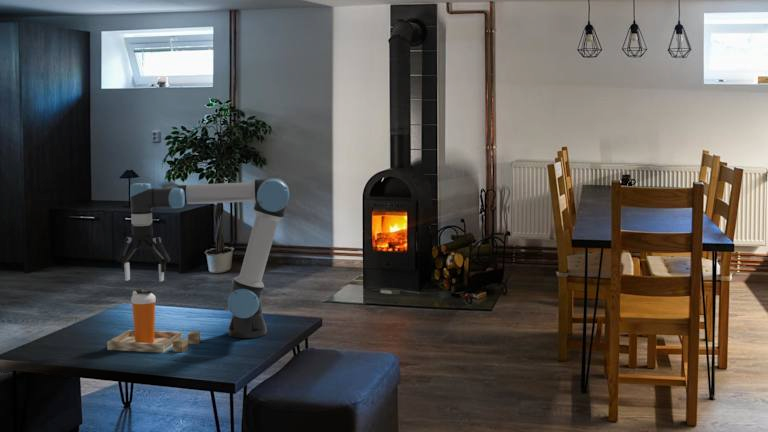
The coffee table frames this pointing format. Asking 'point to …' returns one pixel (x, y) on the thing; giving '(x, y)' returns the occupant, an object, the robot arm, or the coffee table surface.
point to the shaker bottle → (143, 315)
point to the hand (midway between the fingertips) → (144, 280)
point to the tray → (128, 343)
